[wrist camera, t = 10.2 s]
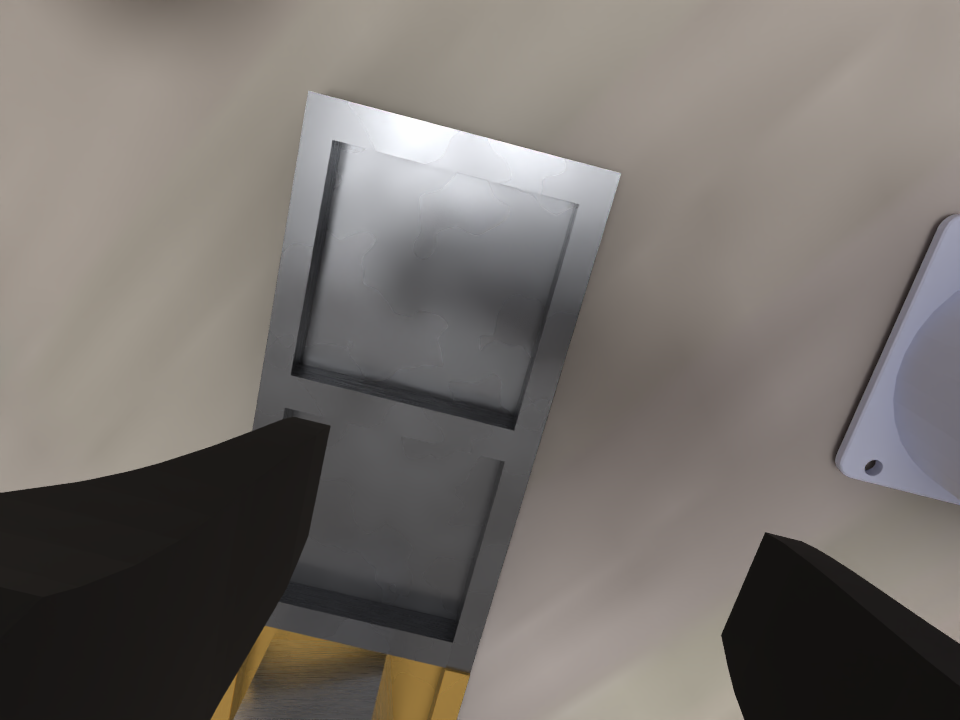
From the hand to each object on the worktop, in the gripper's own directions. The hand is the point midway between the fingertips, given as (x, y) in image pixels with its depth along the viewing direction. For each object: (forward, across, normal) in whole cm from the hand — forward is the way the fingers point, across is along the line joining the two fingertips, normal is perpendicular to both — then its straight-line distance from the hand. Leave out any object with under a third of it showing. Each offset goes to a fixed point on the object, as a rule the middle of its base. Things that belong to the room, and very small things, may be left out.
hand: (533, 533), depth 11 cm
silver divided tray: (+10, +3, +6) cm, 12 cm away
